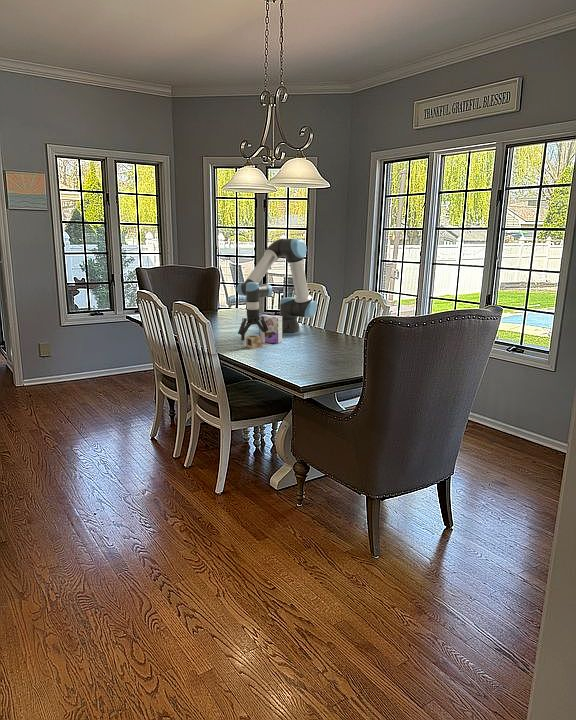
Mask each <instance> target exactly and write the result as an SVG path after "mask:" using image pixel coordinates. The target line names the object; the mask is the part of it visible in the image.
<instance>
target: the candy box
mask: <svg viewBox="0 0 576 720" xmlns="http://www.w3.org/2000/svg"><path fill="white" fill-rule="evenodd" d="M260 316H264V321H265V323H266V325H267V328H268V331H267V332H265V334H266V335H265V336H266V337H265V343H268V344H277V345H278V344H281V343H283V332H282V316H280V315H268V314H262V315H259V317H260ZM259 322H260V324H261V325H262V323H261V321H260V319H259ZM262 326H263V325H262ZM258 332H259V333H258V336H260V337H261V332H262V330H261V329H260V328H259V327H258Z"/></svg>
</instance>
